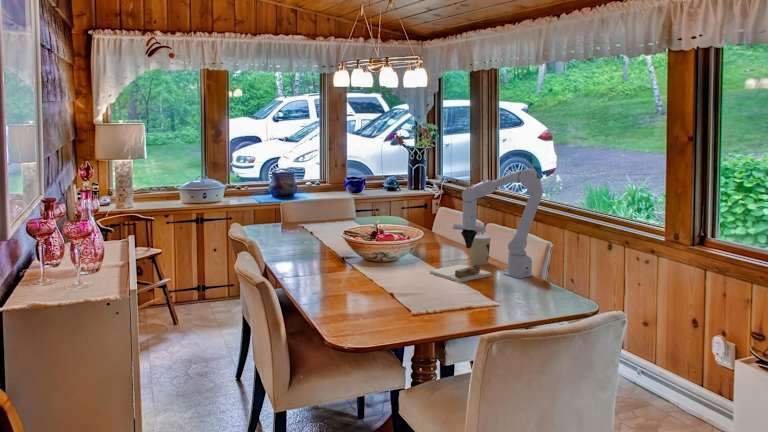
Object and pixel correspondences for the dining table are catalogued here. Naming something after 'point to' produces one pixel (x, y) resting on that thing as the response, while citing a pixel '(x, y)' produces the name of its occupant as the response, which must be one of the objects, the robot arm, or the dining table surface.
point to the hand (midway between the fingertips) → (468, 247)
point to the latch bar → (467, 271)
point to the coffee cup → (480, 250)
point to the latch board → (450, 274)
